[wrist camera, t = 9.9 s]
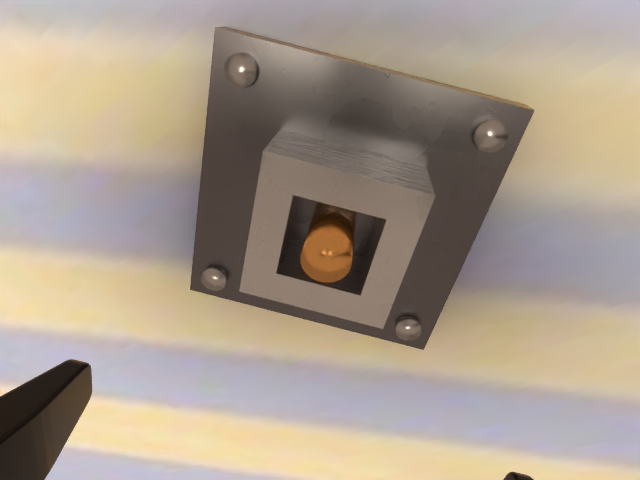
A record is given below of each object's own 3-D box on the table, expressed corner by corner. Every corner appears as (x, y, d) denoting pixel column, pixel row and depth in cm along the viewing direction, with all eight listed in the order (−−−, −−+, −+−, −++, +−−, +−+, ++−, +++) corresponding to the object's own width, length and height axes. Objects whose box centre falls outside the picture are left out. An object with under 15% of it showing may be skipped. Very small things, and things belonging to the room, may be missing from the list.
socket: (426, 167, 17) (435, 195, 14) (382, 287, 20) (383, 329, 17) (280, 129, 17) (263, 150, 14) (257, 254, 20) (239, 291, 17)
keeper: (525, 105, 17) (579, 138, 12) (421, 336, 22) (432, 415, 18) (223, 26, 16) (168, 31, 12) (197, 278, 22) (153, 344, 18)
